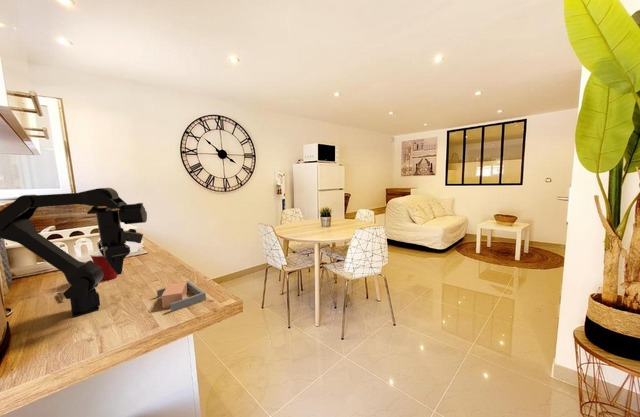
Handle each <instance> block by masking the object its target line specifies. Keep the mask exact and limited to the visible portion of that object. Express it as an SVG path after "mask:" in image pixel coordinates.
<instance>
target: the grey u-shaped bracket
mask: <svg viewBox="0 0 640 417" xmlns="http://www.w3.org/2000/svg"><path fill="white" fill-rule="evenodd" d="M186 282H187V288H188V289H187V290H188V291H189V292H191V293H193V295H191V296H189V297H186V298H185V299H182V300H179V301H176V302H173V303H170V307H169V308H170V312H171V313H172V312H175V311H176V312H177V311H178V310H180V309H184V308H186V307H189V306H192V305H195V304H197V303H200V302H201V303H202V302H204V301H206V300H207V295H206V292H205V291H204V290H202V289H201V288H199V287H197V286H196V285H195V284H193V283H192V282H191V281H189V280H188V281H186ZM165 289H166V287H164V288H160V289H156V297H157V298H162V297H161V296H162V294H163V292H164V291H165ZM203 300H204V301H203Z"/></svg>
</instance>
